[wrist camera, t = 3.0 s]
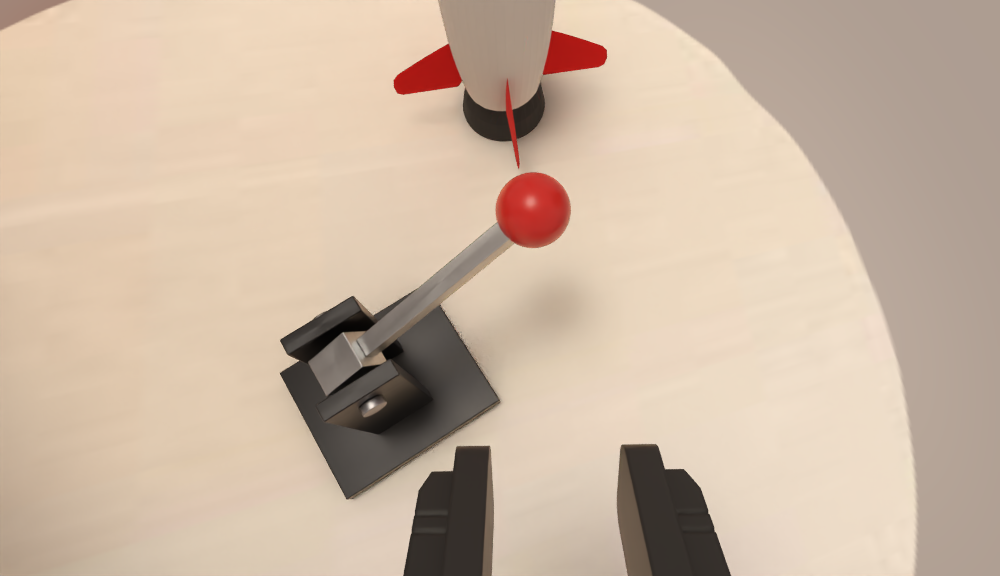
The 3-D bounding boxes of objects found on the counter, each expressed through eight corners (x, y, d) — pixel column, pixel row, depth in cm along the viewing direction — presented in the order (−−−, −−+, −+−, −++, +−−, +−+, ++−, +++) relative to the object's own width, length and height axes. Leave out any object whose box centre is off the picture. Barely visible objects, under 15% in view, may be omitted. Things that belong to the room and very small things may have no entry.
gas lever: (552, 166, 31) (528, 148, 28) (593, 221, 30) (573, 209, 27) (336, 348, 36) (293, 351, 32) (366, 400, 35) (325, 409, 31)
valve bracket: (428, 287, 46) (391, 221, 33) (500, 401, 43) (489, 375, 31) (285, 375, 44) (193, 339, 32) (351, 498, 42) (278, 511, 29)
